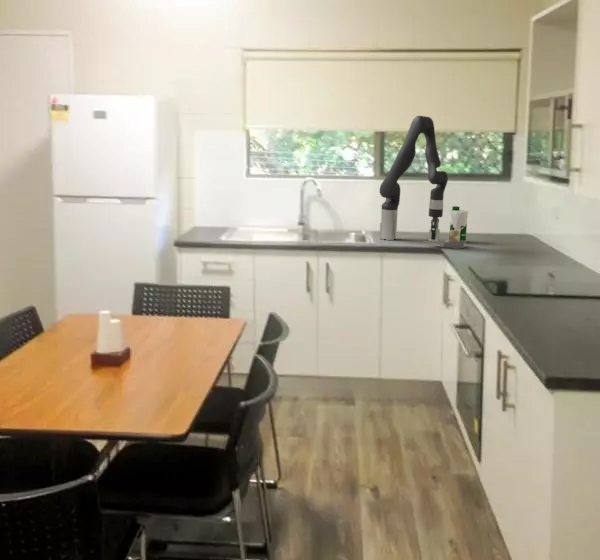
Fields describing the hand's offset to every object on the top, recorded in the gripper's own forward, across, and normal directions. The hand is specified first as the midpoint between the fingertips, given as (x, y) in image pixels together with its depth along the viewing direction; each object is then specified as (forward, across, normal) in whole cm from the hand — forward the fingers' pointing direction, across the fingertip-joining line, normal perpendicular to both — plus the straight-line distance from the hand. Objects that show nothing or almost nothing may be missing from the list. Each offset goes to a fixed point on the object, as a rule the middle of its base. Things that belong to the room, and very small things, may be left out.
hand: (433, 238), depth 462 cm
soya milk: (+5, +24, -10) cm, 27 cm away
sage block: (+1, 0, 0) cm, 1 cm away
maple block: (+1, +4, -11) cm, 12 cm away
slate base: (+4, +4, -11) cm, 13 cm away
